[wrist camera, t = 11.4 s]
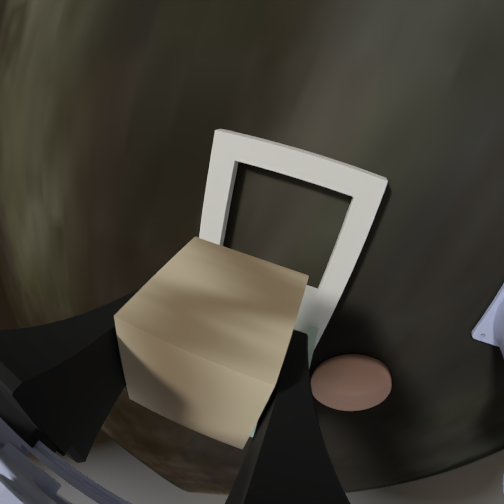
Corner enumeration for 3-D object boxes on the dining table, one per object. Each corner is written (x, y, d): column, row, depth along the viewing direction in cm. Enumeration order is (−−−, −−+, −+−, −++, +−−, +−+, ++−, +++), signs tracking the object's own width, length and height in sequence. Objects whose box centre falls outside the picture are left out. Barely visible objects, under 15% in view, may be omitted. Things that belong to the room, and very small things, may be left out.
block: (309, 275, 11) (275, 385, 7) (277, 354, 13) (242, 449, 9) (195, 236, 12) (113, 315, 7) (186, 319, 14) (129, 398, 10)
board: (386, 178, 16) (387, 181, 15) (291, 388, 26) (289, 395, 25) (220, 128, 17) (215, 130, 17) (190, 350, 28) (187, 356, 27)
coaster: (406, 367, 21) (407, 374, 20) (368, 410, 25) (367, 417, 24) (329, 344, 22) (327, 351, 22) (301, 391, 26) (299, 398, 25)
